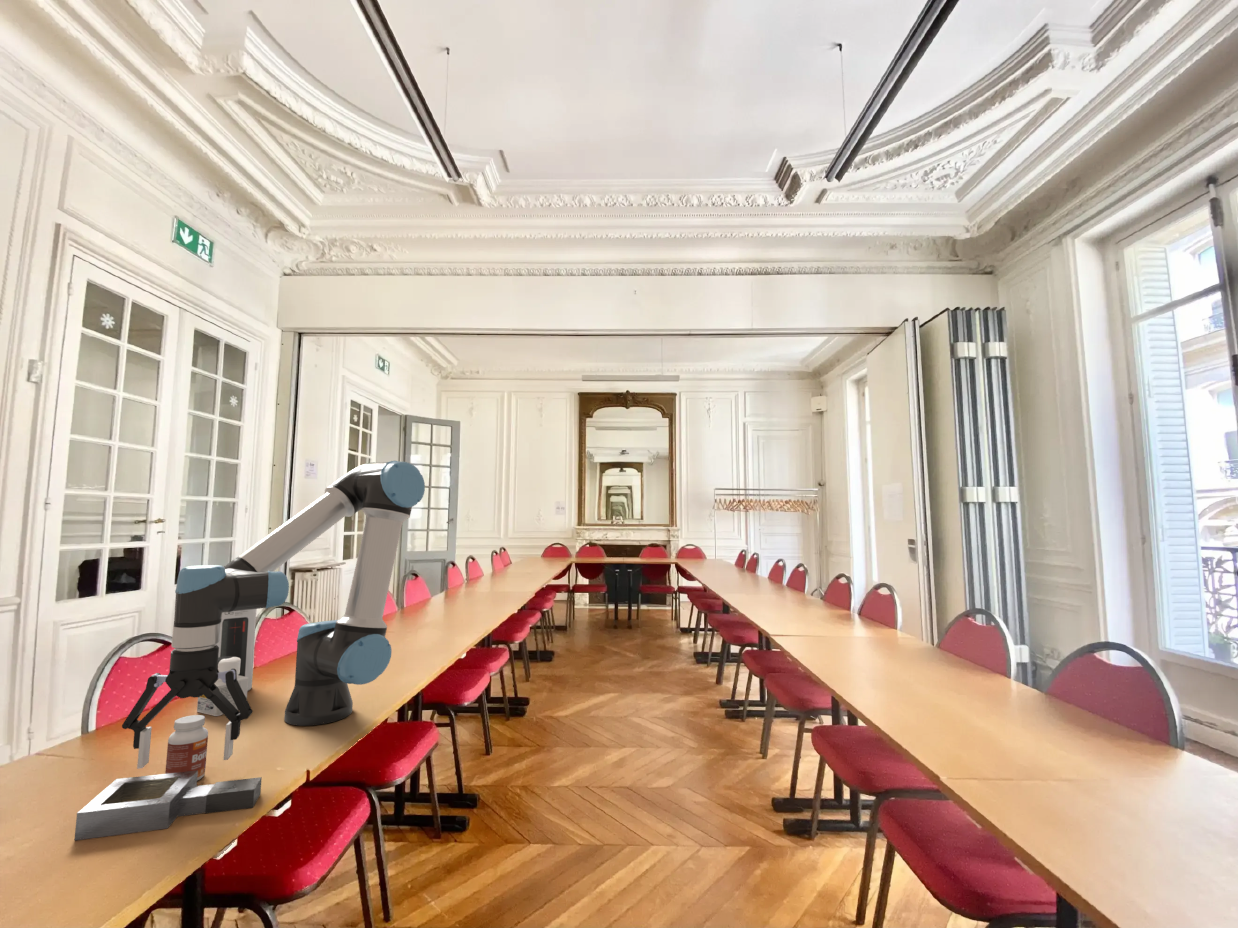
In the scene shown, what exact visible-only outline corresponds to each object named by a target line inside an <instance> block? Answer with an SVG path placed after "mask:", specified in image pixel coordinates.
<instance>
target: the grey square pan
mask: <svg viewBox="0 0 1238 928" xmlns="http://www.w3.org/2000/svg"><path fill="white" fill-rule="evenodd" d="M197 774H198V770H197V771H187V772H178V773H168V774H165V773H158V774H151V775H141V776H133V777H122V778H115V780H113V782H111V783H109V785H107V786H106V788H104V789H103V790H101V792H100V793H98V794H97V795H96V796H95V797H94V798H93V799H91V800H90V801H89V802H88V803H87V804H86V805H84V806H83V808H81V809H80V810H79V811H77V812H76V820H75V821H76V822H75V829H74V831H75V832H74V839H73V840H74V841H81V840H88V839H89V840H90V839H95V838H105V837H113V836H120V835H126V834H135V833H142V832H150V831H157V830H158V831H159V830H164V829H165V830H166V829H168V828H169V827H171V825H172V824H173V823H174V822H175V820H176V819H177V817H184V816H192V815H200V814H211V813H220V812H227V811H237V810H242V809H243V810H244V809H252V808H254V806H255V804H256V803H257V801H258V799H259V798H260V796H261V795H262V794H261V793H262V776H261V777H251V778H241V779H234V780H232V779H231V780H224V781H216V782H215V783H213V784H211V783H210V784H203V785H202V784H201V785H197V783H198V780H197Z"/></svg>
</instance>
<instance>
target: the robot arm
mask: <svg viewBox="0 0 1238 928" xmlns="http://www.w3.org/2000/svg"><path fill="white" fill-rule="evenodd" d="M425 483H426V482H425V480H424V477H423V474H422V473H421V472H420V470H419V468H418V467H416V465H414V464H412V463H410V462H407V461H399V460H391V461H378V462H366V463H364V464H361V465H358V466H356V467H354V468H353V469H351V470H349V471H348V472H346V473H345V474H343V475H342V476H340V477H339V478H338V479H337V480H335V481H334V482H332V483H331V484H330V485H328V486H327V487H326V488H325V489H324V494H323V495H321V496H320V497H318V498H317V499H316V500H313V502H312V503H310V504H309V505H308V506H306V507H305V508H304V509H302V510H301V511H299V512H298V513H296V514H295V515H294V516H292V517H291V518H289V519H288V520H287V521H285V522H284V523H282V524H281V525H280V526H279V527H277V528H276V529H274V530H273V531H272V532H270V533H268V534H267V535H266V536H265V537H263V538H262V539H261V540H259V541H257V542H256V543H255V544H253V545H252V546H251V547H250V548H248V549H247V550H245V551H244V552H243V553H241V554H240V555H238V556H237V557H235V558H233V559H232V560H231V561H230V562H228V563H227V564H225V565H224V566H223V565H220V564H219V565H218V564H207V565H206V564H204V565H203V564H201V565H198V564H197V565H189V566H185V567H184V566H183V568H181V569H180V570H179V572H178V576H177V581H176V586H175V587H176V588H175V590H174V591H175V602H174V618H173V619H174V620H173V627H172V635H171V636H172V637H171V648H173V649H172V650H171V651H170V658H169V659H170V660H169V672H168V674H161V673H159V672H155V673H154V674H152V675H150V676H149V677H148V678H147V681H146V686H145V689H144V690H143V692H142V693H141V694H140V697H139V698H138V700H137V701H136V703H135V704H134V706H133V708H132V709H131V711H130V712H129V714H128V715H127V717H126V719H125V720H124V721H123V723H122V725H121V728H122V729H124V730H127V729H128V730H132V731H133V742H132V743H133V744H132V747H133V749H134V750H136V749H137V750H138V755H137V756H138V757H137V764H136V766H137V767H136V769H138V770H139V769H143V768H144V767H146V766H147V765H148V764H149V761H150V754H151V753H150V752H151V751H150V750H151V739H152V729H153V726H148V725H149V723H150V722H152V720H154V718H156V716H158V715H159V714H160V713H161V711H163V710H164V709H165V707H166V706H168V705H169V703H170V702H171V701H172V700H173V699H174V698H176V697H178V698H180V700H182V699H187V698H198V697H200V696H202V695H204V696H205V697H206V698H207V699H210V700H211V701H212V702H213V704H214V705H215V706H216V707H217V708H218V709H219V710H220V711H221V712H222V713H223V715H224V716H225V717H226V718H227V719H228V720H229V721H228V722H227V723H226V724H225V734H224V735H225V736H224V745H223V746H224V747H223V749H224V750H223V759H222V760H223V761H227V760H229V759H230V758H231V757H232V755H233V754H234V753H233V751H234V741H236V740H237V739H238V738H239V737H240V735H241V723H242V721H244V720H247V719H249V717H251V715H252V714H253V709H252V707H251V704H250V702H249V701H248V698H247V699H246V697H245V695H244V693H243V691H242V689H241V687H240V685H239V683H238V681H237V673H236V669H231V670H229V671H224V672H219V671H218V656H219V647H218V646H217V645H216V644H217V643H219V641H220V630H221V620H222V619H221V617H222V613H223V612H231V611H240V610H250V609H256V610H257V609H269V608H273V607H279V606H281V605H283V604H284V603H285V602H286V601H287V598H288V596H289V593H290V592H289V589H290V583H289V579H288V577H287V575H286V574H285V573H284V572H282V571H277V569H278V568H280V567H281V566H283V565H284V564H285V563H287V562H288V561H290V560H291V559H292V558H293V557H295V555H297V554H298V553H300V552H301V550H304V549H305V548H306V547H307V546H308V545H310V544H311V543H313V541H315V540H316V539H318V538H319V537H320V536H321V535H323V534H324V533H325V532H326V531H328V530H329V529H331V528H332V527H333V526H335V525H336V524H337V523H338V522H340V521H341V520H342V519H344V518H346V517H349V518H350V517H353V516H354V515H355V514H356V513H358V512H359V511H362V512H363V514H364V515H365V517H366V519H365V523H364V528H363V532H362V535H361V536H362V537H361V540H360V541H361V542H360V545H359V550H358V554H357V558H356V563H355V568H354V571H353V577H352V581H351V586H350V590H349V595H348V599H347V602H346V608H345V610H344V611H345V612H344V615H343V616H342V617H340V618H339V619H332V620H331V619H330V620H324V621H317V622H310V623H305V624H303V625H301V626H300V627H299V630H298V633H297V638H296V643H297V644H296V659H295V660H296V661H295V676H294V677H295V678H294V687H293V690H292V692H291V694H290V697H289V699H288V701H287V704H286V707H285V710H284V717H283V719H284V723H286V724H289V725H293V726H299V727H300V726H302V727H303V726H304V727H305V726H306V727H307V726H308V727H309V726H317V725H325V724H330V723H334V722H337V721H340V720H342V719H345V718H347V717H349V716H350V715H351V714H352V713H353V706H354V705H353V704H354V702H353V699H352V695H351V692H350V687H349V685H367V684H370V683H372V682H374V681H375V680H377V679H378V677H380V676H381V675H382V674H383V673H384V672H385V670H386V669H387V668H388V665H389V664H390V661H391V658H392V645H391V644H390V641H389V640H388V639H387V638H386V634H387V629H388V625H387V623H386V622H385V620H384V619H383V616H384V612H385V607H386V602H387V598H388V593H389V588H390V582H391V578H392V574H393V569H394V564H395V560H396V554H397V551H398V545H399V540H400V536H401V530H402V526H403V523H404V522H405V521H407V520H408V519H409V518H410V517H411V515H412V510H413V509H412V508H413V507H414V506H416V505H418V503H419V502H421V500H422V499H423V498H424V495H425V492H426V491H425V489H426V485H425ZM218 679H221V680H222V682H223V683H226V686H227V689H228V691H229V692H230V694H231V696H232V698H233V700H234V702H235V704H236V706H237V708H238V710H237V709H236V708H235V707H234V706H233V705H232V704H231V703H230V702H229V700H228V699H227V698H226V697H225V696H224V695H223V694H222V693H221V692H220V690H219V688H218V687H217V686H216V685H215V684H214V683H215V682H216V681H217V680H218ZM164 683H165V684H166V685H167V686H168V687H169V689H170V690H169V691H168V692H167V693H166V694H165V695H164V696H163V698H162V699H160V700H159V701H158V702H157V704H155V705H154V706H153V708H152V709H151V710H150V711H149V712H148V713H146V715H144V717H143V718H142V719H140V720H139V717H140V716H141V715H142V714H143V711H144V710H145V708H146V707H147V705H148V703H149V702H150V701H151V699H152V698H153V696H154V694H155V693H156V691H157V690H158V688H159V687H161V686H162V685H163V684H164Z"/></svg>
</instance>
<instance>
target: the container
mask: <svg viewBox="0 0 1238 928" xmlns="http://www.w3.org/2000/svg"><path fill="white" fill-rule="evenodd" d="M240 663H241V659H240V658H239V657H236V656H224V657H218V671H219V672H224V671H229V670H231V669H236V673H237V681H238V683H239V685H240V687H241V689H242V691H243V693H244V695H245V697H246V699H247V700H248V691H247V690H248V677H245V676H239V674H240ZM214 684H215V685H216V686H217V687H218V688H219V690H220V692H221V693H222V694H223V695H224V696H225V697H226V698H227V699H228V700H229V702H230V703H231V704H232V705H233V706H234V707H235V708H236V709H237V710H238V708H237V706H236V704H235V702H234V700H233V698H232V696H231V694H230V692H229V691H228V689H227V686H226V683H223V682H222V680H221V679H218V680H217V681H216V682H215V683H214ZM196 705H197V706H196V712H197V713H199V714H203V715H204V714H205V715H208V716H214V717H219V716H223V715H224V714H223V713H222V712H221V711H220V710H219V709H218V708H217V707H216V706H215V705H214V704H213V702H212V701H211V700H210V699H207V698H206V697H205V696H204V695H202V696H200V697H197V704H196ZM238 711H239V710H238Z"/></svg>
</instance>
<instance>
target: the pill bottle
mask: <svg viewBox="0 0 1238 928" xmlns="http://www.w3.org/2000/svg"><path fill="white" fill-rule="evenodd" d="M205 719H206V717H205V715H204V714H203V715H202V714H201V715H200V714H193V715H187V716H182V717H179V718H177V719H176V720H174V725H173V729H174V731H172V733H171V734H170V736H169V737H168V739H167V747H166V748H167V750H166V759H165V760H166V761H165V771H164V774H168V773H178V772H187V771H197V770H198V774H197V781H199V780H201V779H202V778H203V777H204V776H205V773H206V767H207V766H206V764H207V752H208V741H209V731H208V729H207V728H206V727H204V725H205V722H206V720H205Z"/></svg>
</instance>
